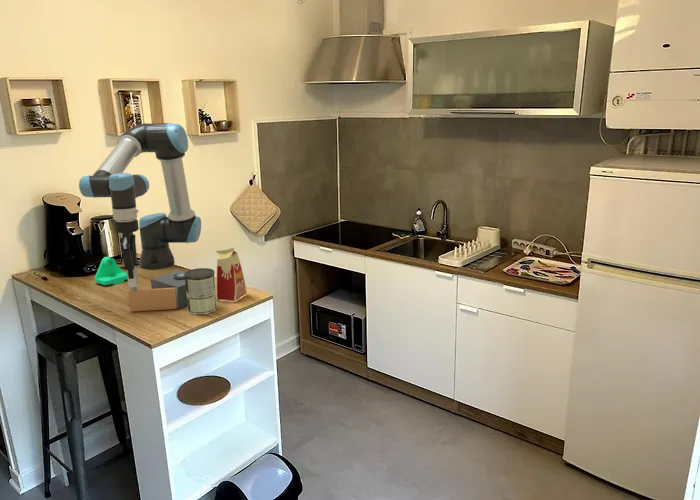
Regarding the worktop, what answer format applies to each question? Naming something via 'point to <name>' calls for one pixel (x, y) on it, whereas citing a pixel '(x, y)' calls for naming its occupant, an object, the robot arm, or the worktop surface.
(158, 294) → the side door
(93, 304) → the worktop surface
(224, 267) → the red snack bag
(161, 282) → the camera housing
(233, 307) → the worktop surface
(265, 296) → the worktop surface
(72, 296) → the worktop surface
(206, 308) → the coffee can
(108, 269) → the camera mount
